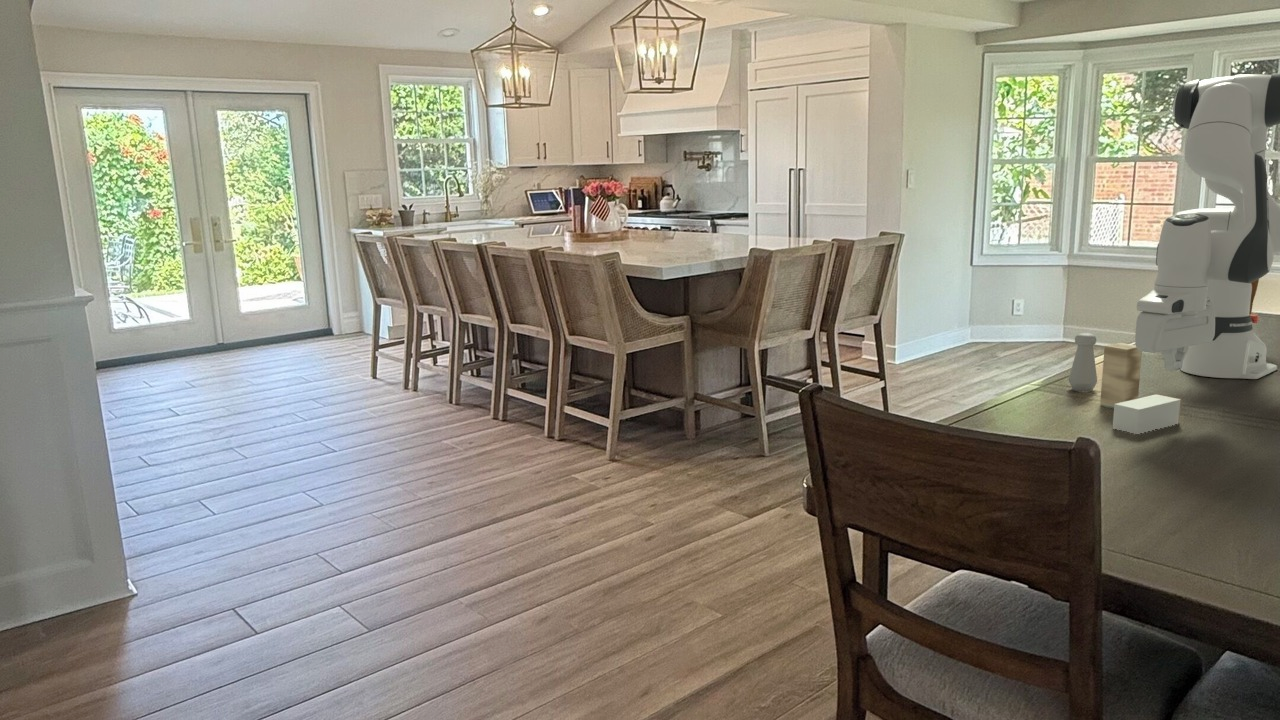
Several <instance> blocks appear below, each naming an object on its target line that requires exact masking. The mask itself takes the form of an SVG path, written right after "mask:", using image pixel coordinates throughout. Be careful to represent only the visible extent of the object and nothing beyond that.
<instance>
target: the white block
mask: <svg viewBox="0 0 1280 720" xmlns="http://www.w3.org/2000/svg"><path fill="white" fill-rule="evenodd" d="M1181 405H1182V399H1181V398H1176V397H1171V396H1167V395H1162V394H1157V393H1156V394H1152V395H1147V396H1143V397H1140V398H1139V397H1138V399H1134V400H1130V401H1125V402H1121V403H1117V404H1114V409H1113V419H1112V429H1113V430H1115V429H1117V431H1119V430H1122V431H1121V432H1123V431H1127V432H1130V433H1129V434H1131V433H1134V434H1133V435H1135V434H1139V435H1141V434H1140V433H1142V434H1145V433H1144V432H1146V433H1149V432H1148V431H1150V432H1153V431H1152V430H1154V431H1156V430H1155V429H1158V430H1161V429H1160V428H1162V429H1165V428H1164V427H1166V428H1169V427H1173V426H1176V425H1175V424H1177V425H1179V424H1180V420H1181V419H1180V418H1181V417H1180V416H1181ZM1178 423H1179V424H1178ZM1172 425H1173V426H1172ZM1168 426H1169V427H1168ZM1127 432H1126V433H1127Z"/></svg>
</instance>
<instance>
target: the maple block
mask: <svg viewBox="0 0 1280 720" xmlns="http://www.w3.org/2000/svg"><path fill="white" fill-rule="evenodd" d="M1103 349H1104V350H1103V362H1102V375H1101V388H1100V389H1101V390H1100V404H1099V406H1100V405H1101V406H1100V407H1104V406H1105V408H1110V409H1113V410H1114V404H1117V403H1121V402H1125V401H1130V400H1134V399H1138V398H1139V392H1140V378H1141V367H1142V366H1141V365H1142V355H1143V354H1142V353H1143V351H1139V350H1138V349H1137V347H1136V345H1135V344H1131V343H1129V344H1128V343H1123V342H1118V343H1112V344H1106V345H1104V348H1103Z"/></svg>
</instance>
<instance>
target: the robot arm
mask: <svg viewBox="0 0 1280 720" xmlns="http://www.w3.org/2000/svg"><path fill="white" fill-rule="evenodd" d="M1172 113H1173V117H1174V121H1175V123H1176V125H1178V126H1179V127H1180V128H1183V129H1185V130H1186V129H1187V134H1186V138H1185V143H1184V144H1185V145H1184V159H1185V162H1186V165H1188V167H1189V168H1190V169H1191V170H1192V171H1193V172H1194V173H1195V174H1197V175H1198V176H1200V177H1202V178H1203V179H1204V182H1205V185H1206V187H1207V188H1208V189H1209V190H1210V191H1212V192H1213V193H1215V194H1216V195H1219V196H1222V197H1224V198H1225V199H1228V200H1229V201H1230V202H1232V204H1233V205H1234V207H1231V208H1230V207H1224V208H1223V207H1222V208H1221V207H1219V208H1218V207H1216V208H1215V207H1214V208H1213V207H1212V208H1211V207H1209V208H1207V207H1204V208H1203V207H1199V208H1194V209H1186V210H1181V211H1177V212H1176V213H1174V214H1173V215H1171V216H1168V217H1167V218H1165V220H1164V221H1163V224H1162V228H1161V232H1160V236H1159V240H1158V243H1157V246H1156V254H1155V255H1156V256H1155V257H1156V258H1155V265H1156V266H1157V275H1156V278H1155V280H1154V288H1153V289H1152V290H1151V291H1150V292H1148V293H1147V294H1146V295H1144V296H1143V297H1141V298H1140V299H1139V300H1138V301H1137V302H1136V311H1138V312H1140V313H1138V316H1137V318H1136V323H1135V335H1134V345H1136V347H1137V349H1138V350H1139V351H1142V353H1151V354H1155V353H1161V355H1162V358H1163V360H1164V370H1165V371H1170V372H1172V371H1173V372H1174V371H1177V370H1181V372H1184V373H1187V374H1191V375H1196V376H1200V377H1207V378H1208V377H1210V378H1217V379H1218V378H1219V379H1248V380H1257V379H1260V378H1262V377H1265V376H1266V375H1269V374H1270V373H1272V372H1275V371H1277V370H1278V365H1276V364H1273V363H1270V362H1267V350H1268V349H1267V345H1266V343H1264V342H1263V341H1262V340H1261V339H1260V338H1259V337H1258V336H1257V335H1256V333H1254V331H1253V328H1254V327H1253V324H1258V323H1259V320H1260V316H1259V315H1258V314H1252V313H1251V314H1249V311H1250V302H1251V293H1252V284H1251V283H1252V282H1254V281H1256V280H1258V279H1259V280H1260V279H1261V278H1263V277H1265V275H1266V276H1267V274H1268V273H1270V269H1271V268H1272V266H1273V263H1274V255H1278V254H1280V204H1278V203H1277V202H1276V201H1275V200H1274V198H1273V197H1272V195H1271V194H1270V192H1269V187H1268V174H1267V166H1266V160H1265V159H1266V149H1267V148H1266V147H1267V128H1273V127H1274V126H1276V125H1279V124H1280V73H1277V72H1276V73H1275V72H1273V73H1272V74H1262V73H1261V74H1260V73H1251V74H1249V73H1247V74H1246V73H1245V74H1244V73H1243V74H1235V75H1228V76H1220V77H1214V78H1213V77H1212V78H1207V79H1201V78H1200V79H1199V78H1198V79H1194V80H1190V81H1188V82H1185V83H1184V84H1182V85H1181V86H1180V87H1179V88H1178V89H1177V93H1176V94H1175V97H1174V99H1173V103H1172Z"/></svg>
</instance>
